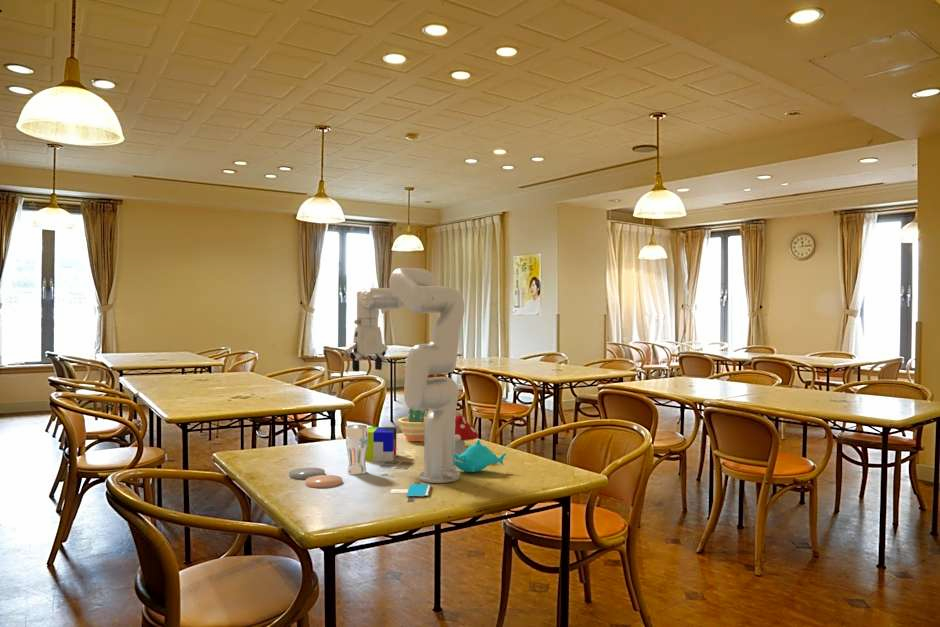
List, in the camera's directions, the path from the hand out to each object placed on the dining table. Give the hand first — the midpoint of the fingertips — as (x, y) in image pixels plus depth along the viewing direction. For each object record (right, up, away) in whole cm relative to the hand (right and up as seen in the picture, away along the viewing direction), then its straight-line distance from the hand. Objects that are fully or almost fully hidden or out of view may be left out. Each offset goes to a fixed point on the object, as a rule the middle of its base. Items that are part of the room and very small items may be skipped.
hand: (367, 370), depth 240 cm
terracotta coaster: (-7, -31, -39) cm, 50 cm away
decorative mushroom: (+33, -31, -3) cm, 46 cm away
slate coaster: (-15, -31, -30) cm, 45 cm away
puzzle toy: (+5, -31, -5) cm, 32 cm away
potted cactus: (+16, -31, +27) cm, 44 cm away
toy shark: (+40, -31, -25) cm, 56 cm away
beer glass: (+1, -31, -27) cm, 41 cm away
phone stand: (+20, -32, -48) cm, 61 cm away
